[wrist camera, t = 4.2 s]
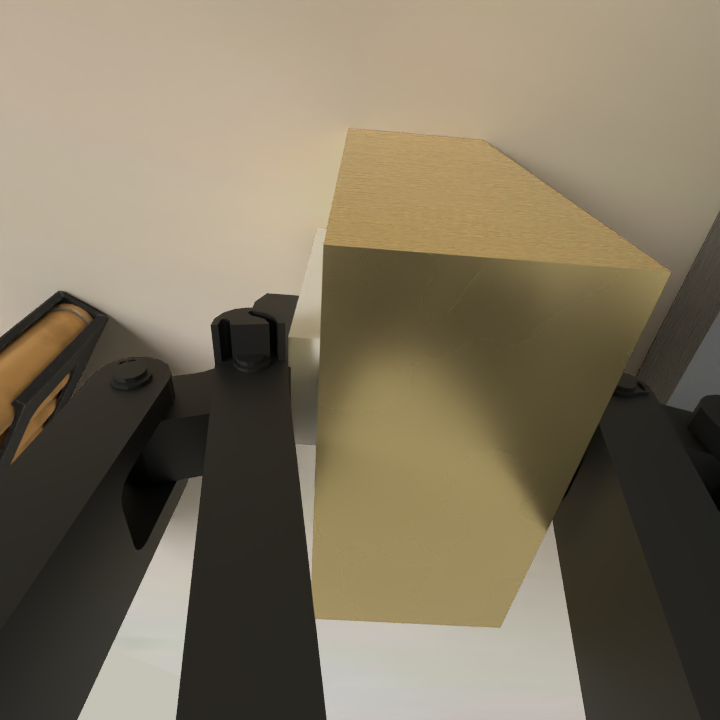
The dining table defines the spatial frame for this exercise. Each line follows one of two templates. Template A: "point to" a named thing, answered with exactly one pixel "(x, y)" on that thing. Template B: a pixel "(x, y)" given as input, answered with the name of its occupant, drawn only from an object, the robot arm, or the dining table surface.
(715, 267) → the grey l-shaped bracket
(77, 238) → the dining table surface
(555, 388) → the brass block
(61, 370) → the ammunition clip
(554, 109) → the dining table surface
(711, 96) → the dining table surface
